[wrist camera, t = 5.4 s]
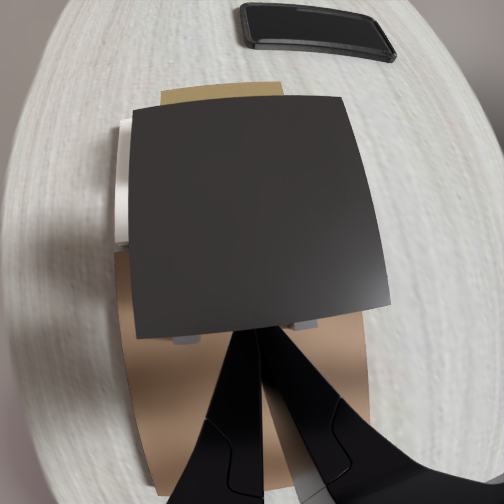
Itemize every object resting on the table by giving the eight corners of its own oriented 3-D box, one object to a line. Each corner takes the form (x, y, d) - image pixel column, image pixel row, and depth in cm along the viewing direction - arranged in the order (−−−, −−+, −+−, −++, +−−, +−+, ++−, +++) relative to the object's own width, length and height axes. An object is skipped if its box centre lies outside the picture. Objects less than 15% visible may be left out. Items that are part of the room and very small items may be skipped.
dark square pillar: (280, 307, 16) (390, 304, 5) (202, 316, 16) (136, 338, 4) (256, 141, 18) (285, -23, 6) (188, 147, 17) (156, -16, 6)
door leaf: (364, 459, 16) (369, 465, 15) (160, 488, 14) (158, 495, 13) (342, 231, 18) (348, 227, 17) (120, 255, 17) (114, 252, 16)
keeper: (280, 177, 18) (294, 141, 13) (174, 188, 17) (159, 153, 13) (270, 124, 18) (280, 81, 14) (172, 133, 18) (161, 91, 13)
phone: (400, 60, 22) (246, 43, 20) (395, 67, 23) (246, 52, 21) (373, 16, 23) (239, 1, 21) (370, 22, 24) (238, 9, 23)
